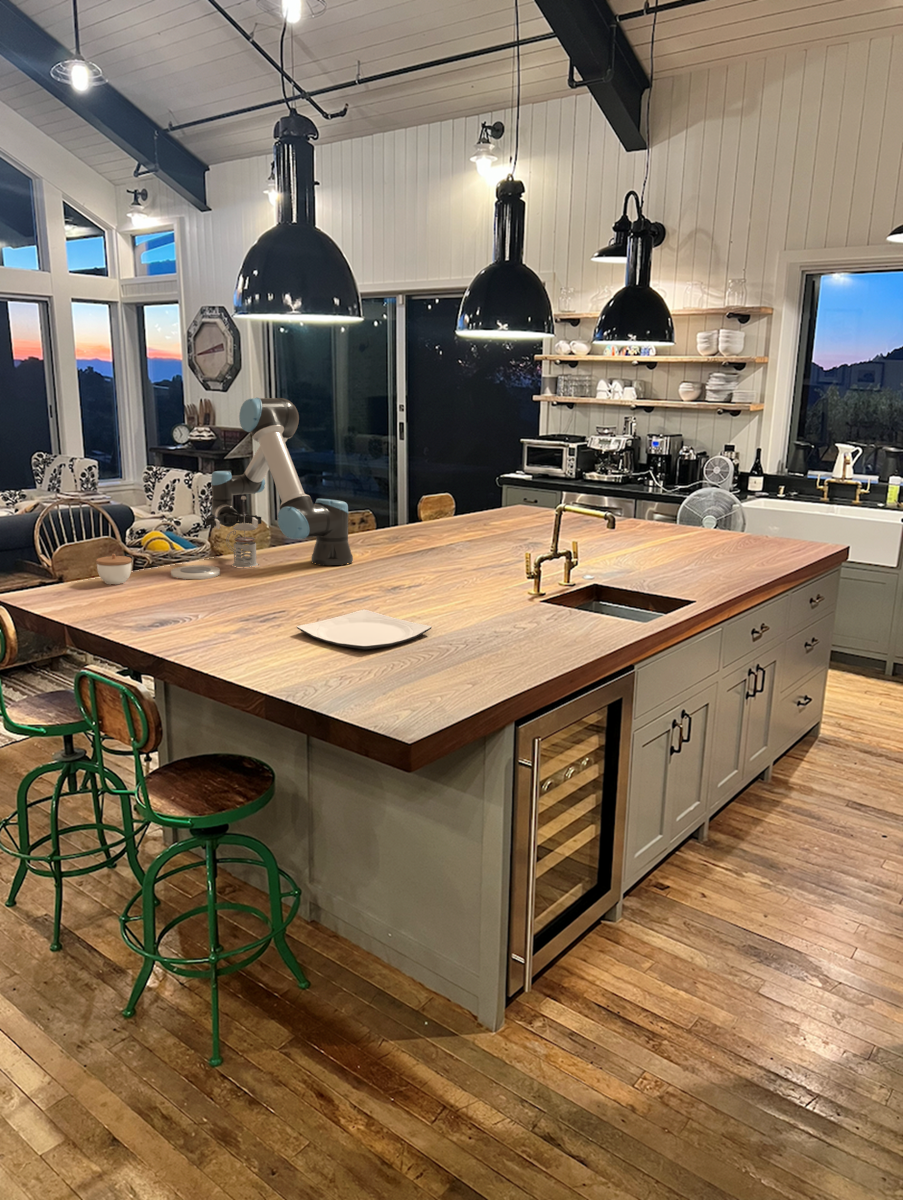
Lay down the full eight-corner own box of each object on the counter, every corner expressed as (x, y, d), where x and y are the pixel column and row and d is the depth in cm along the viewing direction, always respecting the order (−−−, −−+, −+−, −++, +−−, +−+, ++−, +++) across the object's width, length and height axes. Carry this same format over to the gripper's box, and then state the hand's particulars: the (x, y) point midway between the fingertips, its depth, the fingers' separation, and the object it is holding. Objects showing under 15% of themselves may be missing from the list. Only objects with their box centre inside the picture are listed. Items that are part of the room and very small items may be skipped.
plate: (364, 616, 266) (364, 607, 266) (439, 636, 249) (439, 626, 248) (288, 635, 245) (288, 626, 244) (365, 658, 227) (365, 648, 227)
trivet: (229, 574, 313) (229, 569, 313) (191, 581, 301) (191, 576, 300) (199, 567, 322) (199, 562, 322) (161, 574, 310) (161, 569, 309)
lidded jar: (125, 586, 292) (124, 557, 290) (92, 585, 292) (90, 556, 290) (137, 579, 302) (136, 551, 300) (105, 578, 302) (103, 550, 300)
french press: (252, 569, 322) (251, 498, 316) (222, 566, 325) (219, 496, 319) (263, 563, 332) (262, 494, 326) (233, 561, 334) (231, 493, 328)
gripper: (260, 524, 354) (272, 533, 335) (193, 526, 344) (202, 536, 325) (259, 504, 352) (272, 512, 333) (192, 506, 342) (202, 515, 324)
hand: (238, 524), depth 329 cm, fingers open, 13 cm apart
